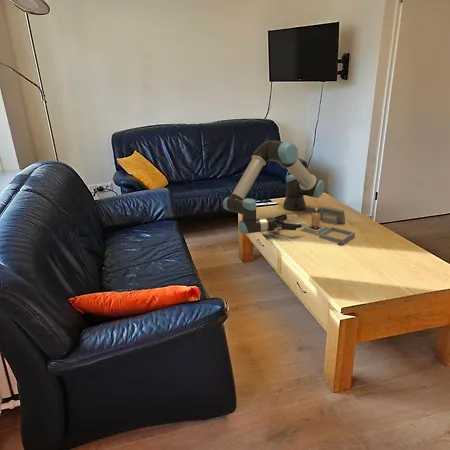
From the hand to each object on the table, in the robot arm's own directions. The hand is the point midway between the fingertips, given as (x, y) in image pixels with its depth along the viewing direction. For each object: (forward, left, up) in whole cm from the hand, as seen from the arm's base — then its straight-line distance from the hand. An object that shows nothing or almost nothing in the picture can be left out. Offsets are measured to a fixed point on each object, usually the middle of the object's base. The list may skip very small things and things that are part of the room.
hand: (301, 220), depth 227 cm
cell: (-7, +5, -7) cm, 11 cm away
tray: (-5, +20, -8) cm, 22 cm away
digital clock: (-24, +6, -8) cm, 26 cm away
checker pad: (-7, +5, -8) cm, 11 cm away
